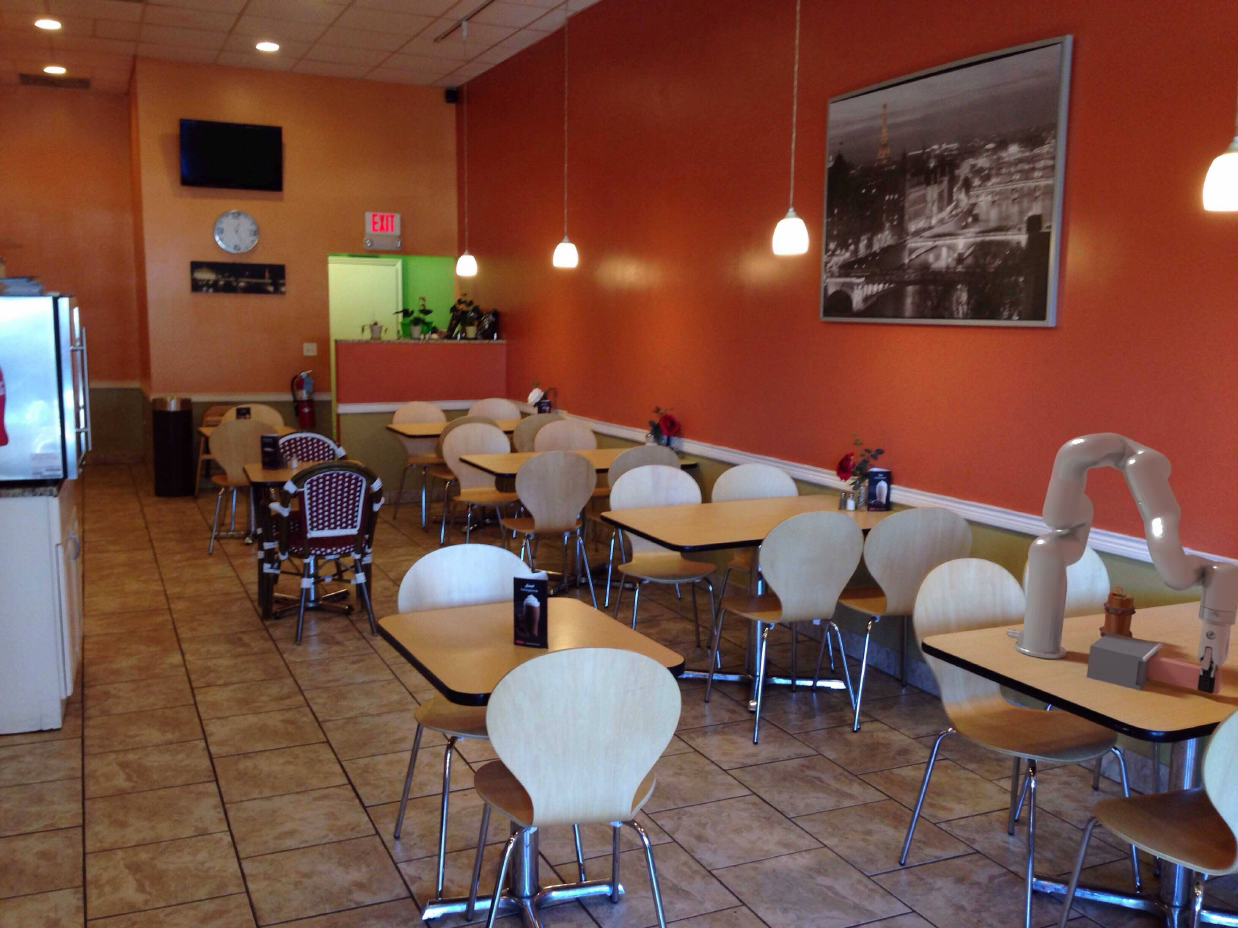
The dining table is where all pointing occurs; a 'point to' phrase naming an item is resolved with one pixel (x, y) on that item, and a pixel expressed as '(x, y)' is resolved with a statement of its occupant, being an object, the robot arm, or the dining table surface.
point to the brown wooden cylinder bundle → (1118, 613)
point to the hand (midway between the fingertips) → (1206, 689)
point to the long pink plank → (1179, 673)
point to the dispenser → (1121, 660)
